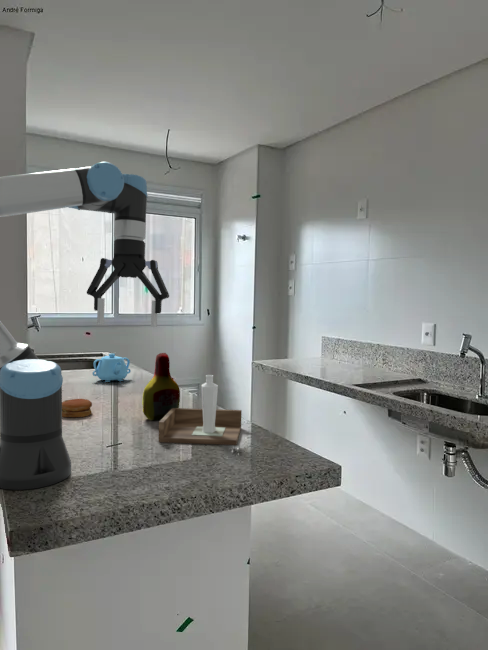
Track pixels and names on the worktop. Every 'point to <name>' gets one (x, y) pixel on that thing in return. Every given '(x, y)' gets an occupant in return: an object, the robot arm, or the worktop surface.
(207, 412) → the white faceted vase
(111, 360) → the teapot
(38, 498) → the worktop surface
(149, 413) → the bottle
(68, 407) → the burger
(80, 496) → the worktop surface
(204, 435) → the brown wooden flat tray
